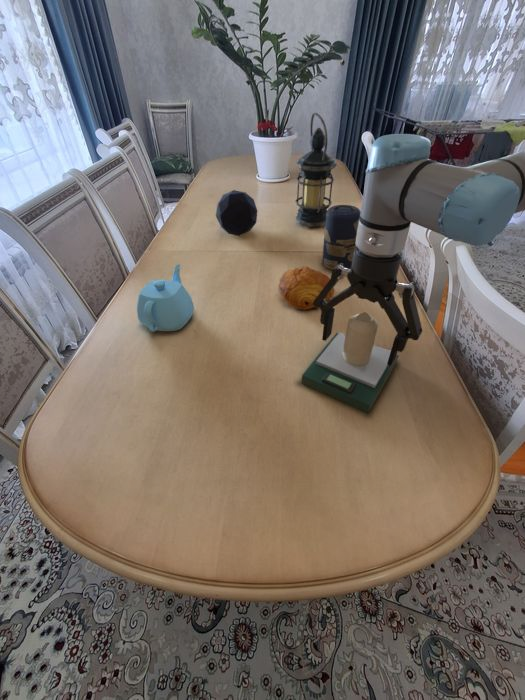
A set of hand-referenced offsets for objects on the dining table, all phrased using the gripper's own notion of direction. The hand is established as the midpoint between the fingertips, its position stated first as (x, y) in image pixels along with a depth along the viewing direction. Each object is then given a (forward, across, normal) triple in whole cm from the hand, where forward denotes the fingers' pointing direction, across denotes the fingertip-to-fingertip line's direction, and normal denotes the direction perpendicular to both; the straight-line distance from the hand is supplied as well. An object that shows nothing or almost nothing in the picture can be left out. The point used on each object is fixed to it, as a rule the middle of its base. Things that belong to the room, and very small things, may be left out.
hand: (357, 348), depth 70 cm
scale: (+5, 0, -2) cm, 6 cm away
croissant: (+6, -22, +19) cm, 30 cm away
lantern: (+6, -44, +64) cm, 78 cm away
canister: (+6, -22, +39) cm, 45 cm away
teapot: (+6, -46, -8) cm, 47 cm away
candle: (+2, 0, 0) cm, 2 cm away
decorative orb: (+6, -63, +43) cm, 77 cm away
